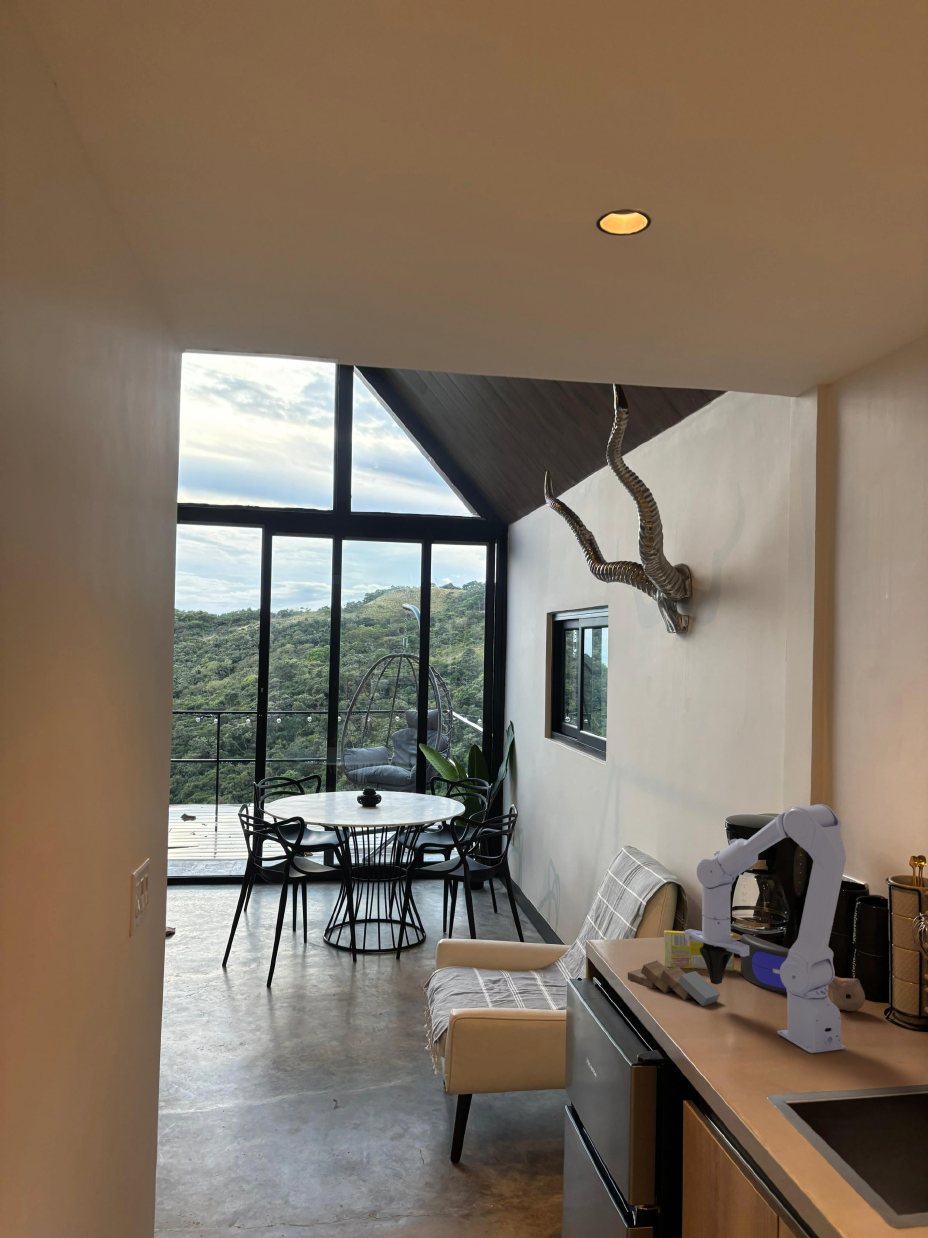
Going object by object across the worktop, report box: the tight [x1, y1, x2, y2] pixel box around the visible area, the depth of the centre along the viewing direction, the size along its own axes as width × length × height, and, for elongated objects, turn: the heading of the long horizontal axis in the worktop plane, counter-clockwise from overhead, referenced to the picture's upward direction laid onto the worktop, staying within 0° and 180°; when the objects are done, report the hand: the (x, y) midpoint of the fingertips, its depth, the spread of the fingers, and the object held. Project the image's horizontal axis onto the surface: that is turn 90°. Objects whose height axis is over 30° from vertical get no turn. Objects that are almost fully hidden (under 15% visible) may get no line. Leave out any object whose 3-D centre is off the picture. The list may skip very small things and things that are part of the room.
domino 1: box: [627, 968, 658, 989], centre depth 191 cm, size 2×5×7 cm
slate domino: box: [678, 970, 721, 1007], centre depth 181 cm, size 2×5×7 cm
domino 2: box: [641, 960, 674, 994], centre depth 188 cm, size 2×5×7 cm
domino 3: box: [660, 966, 693, 1001], centre depth 184 cm, size 2×5×7 cm
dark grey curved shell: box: [740, 933, 790, 995], centre depth 191 cm, size 16×5×9 cm, turn 27°
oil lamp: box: [828, 975, 866, 1012], centre depth 177 cm, size 9×4×8 cm, turn 80°
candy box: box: [663, 930, 735, 972], centre depth 202 cm, size 16×2×8 cm, turn 84°
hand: (716, 983), depth 177 cm, fingers closed
